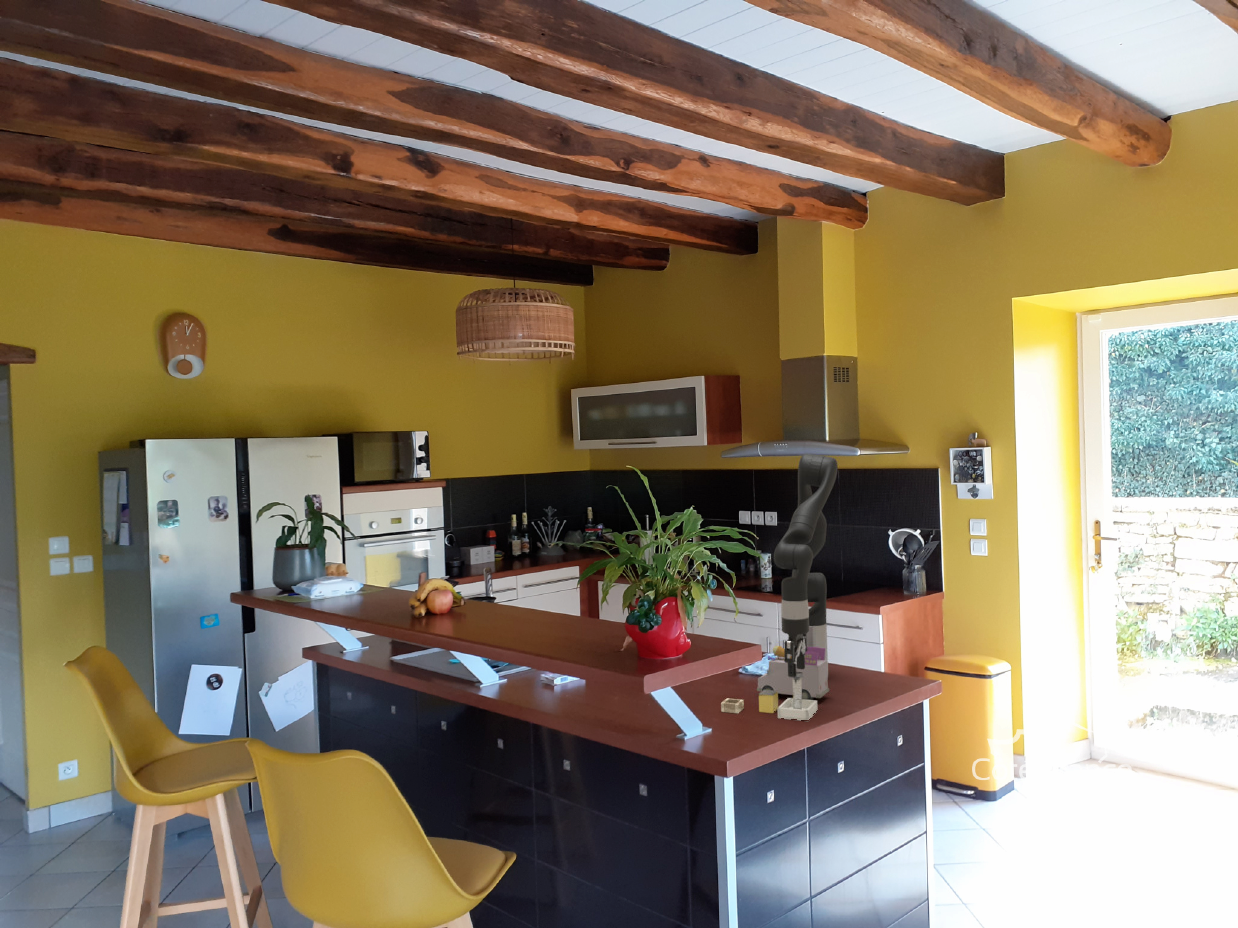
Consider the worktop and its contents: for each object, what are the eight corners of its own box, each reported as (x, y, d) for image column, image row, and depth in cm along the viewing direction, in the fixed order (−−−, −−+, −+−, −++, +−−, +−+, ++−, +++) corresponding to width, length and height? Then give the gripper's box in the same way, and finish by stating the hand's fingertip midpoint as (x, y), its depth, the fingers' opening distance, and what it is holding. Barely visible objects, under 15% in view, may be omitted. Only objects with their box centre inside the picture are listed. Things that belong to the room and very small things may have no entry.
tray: (788, 707, 264) (787, 697, 264) (817, 710, 260) (817, 700, 260) (777, 718, 254) (777, 707, 254) (808, 721, 251) (807, 710, 251)
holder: (727, 706, 267) (726, 698, 267) (743, 708, 265) (743, 699, 265) (721, 711, 262) (721, 702, 262) (738, 713, 260) (737, 704, 260)
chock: (764, 707, 266) (764, 689, 265) (778, 708, 264) (777, 690, 264) (759, 711, 261) (758, 694, 261) (773, 713, 259) (772, 695, 259)
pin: (793, 710, 259) (792, 671, 259) (805, 711, 258) (804, 672, 258) (790, 713, 256) (789, 673, 256) (802, 714, 255) (801, 674, 255)
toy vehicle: (767, 689, 283) (766, 641, 283) (830, 696, 273) (828, 646, 273) (756, 697, 275) (754, 647, 275) (819, 705, 265) (818, 653, 265)
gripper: (801, 621, 251) (802, 680, 251) (815, 610, 263) (816, 667, 264) (774, 619, 254) (776, 678, 255) (789, 609, 267) (790, 665, 267)
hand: (796, 672), depth 259 cm, fingers open, 8 cm apart
